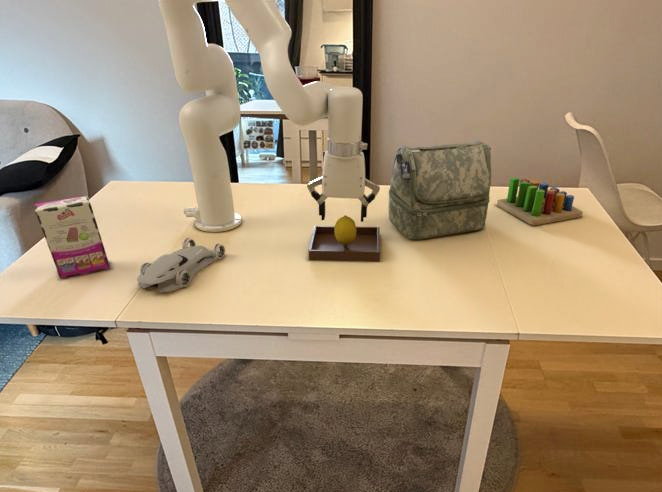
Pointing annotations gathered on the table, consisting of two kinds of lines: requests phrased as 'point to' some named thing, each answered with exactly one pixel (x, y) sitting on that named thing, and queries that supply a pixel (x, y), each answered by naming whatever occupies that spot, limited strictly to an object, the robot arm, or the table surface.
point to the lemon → (345, 230)
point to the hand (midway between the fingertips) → (342, 219)
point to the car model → (178, 267)
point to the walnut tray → (332, 250)
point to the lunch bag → (440, 189)
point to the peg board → (538, 202)
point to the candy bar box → (72, 236)
